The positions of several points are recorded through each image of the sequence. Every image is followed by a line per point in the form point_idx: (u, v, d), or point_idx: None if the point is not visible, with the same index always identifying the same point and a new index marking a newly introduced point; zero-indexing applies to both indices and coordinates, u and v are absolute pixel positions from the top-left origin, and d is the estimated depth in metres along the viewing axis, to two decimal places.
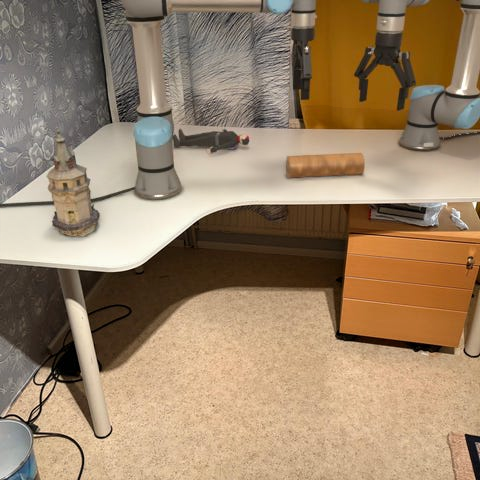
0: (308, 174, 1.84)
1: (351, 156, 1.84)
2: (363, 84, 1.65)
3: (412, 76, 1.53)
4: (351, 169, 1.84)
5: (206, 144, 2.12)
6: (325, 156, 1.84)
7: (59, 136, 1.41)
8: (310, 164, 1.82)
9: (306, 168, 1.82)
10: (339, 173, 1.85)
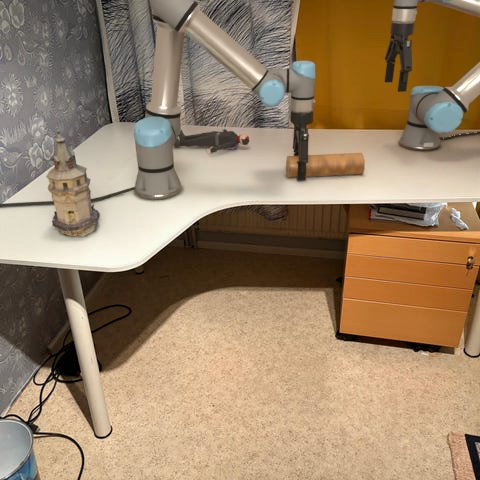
0: (308, 174, 1.84)
1: (351, 156, 1.84)
2: None
3: None
4: (351, 169, 1.84)
5: (206, 144, 2.12)
6: (325, 156, 1.84)
7: (59, 136, 1.41)
8: (310, 164, 1.82)
9: (306, 168, 1.82)
10: (339, 173, 1.85)
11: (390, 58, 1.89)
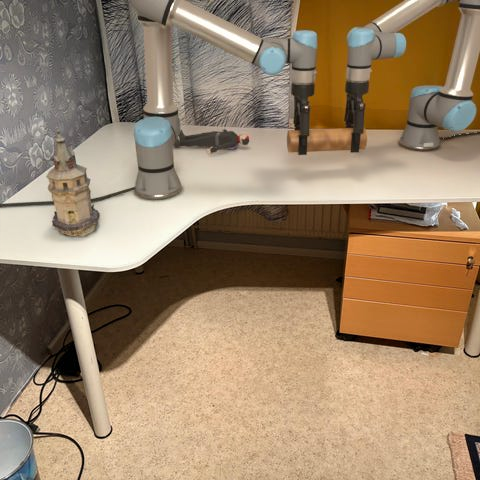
0: (309, 149, 1.80)
1: None
2: None
3: None
4: None
5: (206, 144, 2.12)
6: (327, 130, 1.79)
7: (59, 136, 1.41)
8: (312, 138, 1.78)
9: (307, 142, 1.78)
10: (341, 148, 1.81)
11: (348, 119, 1.83)
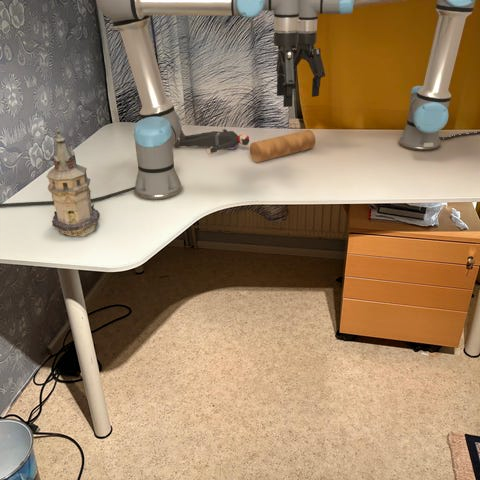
0: (274, 156, 2.00)
1: (304, 134, 2.06)
2: None
3: None
4: (306, 145, 2.06)
5: (206, 144, 2.12)
6: (284, 137, 2.02)
7: (59, 136, 1.41)
8: (276, 146, 1.99)
9: (273, 150, 1.98)
10: (297, 150, 2.06)
11: None
